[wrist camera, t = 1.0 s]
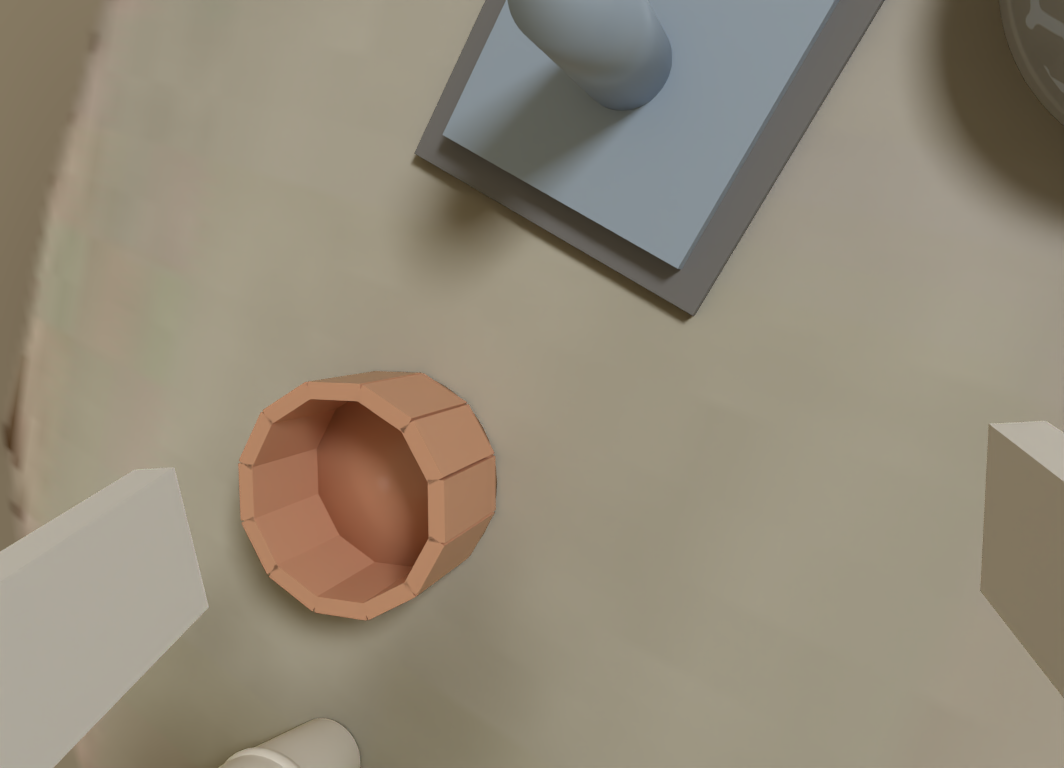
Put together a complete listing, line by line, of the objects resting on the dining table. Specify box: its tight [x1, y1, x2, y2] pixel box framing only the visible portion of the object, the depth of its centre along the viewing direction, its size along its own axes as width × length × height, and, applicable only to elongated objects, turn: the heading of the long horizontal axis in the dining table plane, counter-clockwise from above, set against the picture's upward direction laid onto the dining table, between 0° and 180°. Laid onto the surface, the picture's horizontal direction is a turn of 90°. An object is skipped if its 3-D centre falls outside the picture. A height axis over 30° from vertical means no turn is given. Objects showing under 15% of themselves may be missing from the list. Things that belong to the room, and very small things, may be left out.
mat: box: [415, 0, 884, 316], centre depth 35 cm, size 16×16×1 cm
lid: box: [443, 0, 839, 270], centre depth 30 cm, size 13×13×10 cm
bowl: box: [238, 371, 497, 620], centre depth 39 cm, size 11×11×6 cm
